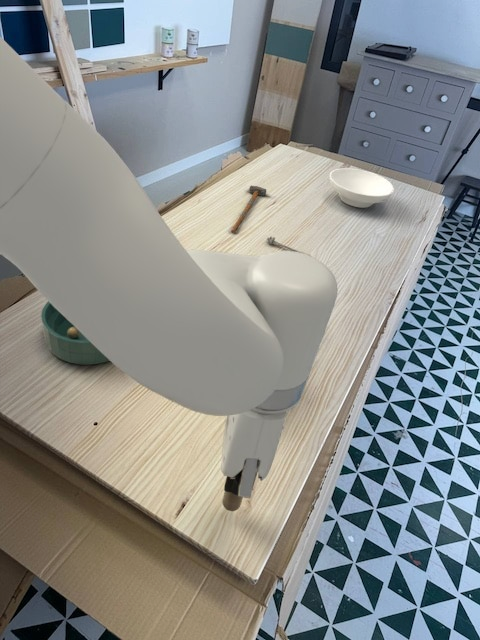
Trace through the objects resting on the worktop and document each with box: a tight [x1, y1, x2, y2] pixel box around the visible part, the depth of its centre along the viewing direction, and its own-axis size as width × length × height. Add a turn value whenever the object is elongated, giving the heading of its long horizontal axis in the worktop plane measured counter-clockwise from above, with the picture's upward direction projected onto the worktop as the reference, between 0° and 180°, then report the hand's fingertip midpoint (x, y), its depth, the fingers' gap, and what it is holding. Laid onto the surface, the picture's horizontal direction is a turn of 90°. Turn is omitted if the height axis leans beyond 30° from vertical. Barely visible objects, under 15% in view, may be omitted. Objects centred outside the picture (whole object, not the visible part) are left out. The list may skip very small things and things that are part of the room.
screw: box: [266, 236, 302, 253], centre depth 115 cm, size 2×11×2 cm
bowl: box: [329, 167, 395, 209], centre depth 141 cm, size 20×20×7 cm
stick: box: [221, 491, 244, 512], centre depth 56 cm, size 2×2×11 cm
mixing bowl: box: [40, 300, 111, 365], centre depth 81 cm, size 15×15×6 cm
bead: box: [67, 327, 79, 339], centre depth 81 cm, size 2×2×2 cm
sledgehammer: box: [231, 185, 267, 234], centre depth 128 cm, size 27×2×5 cm
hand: (238, 478), depth 56 cm, fingers closed on stick, 2 cm apart
